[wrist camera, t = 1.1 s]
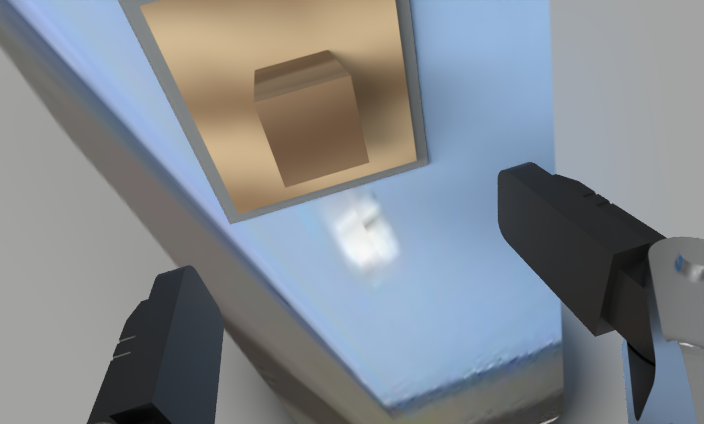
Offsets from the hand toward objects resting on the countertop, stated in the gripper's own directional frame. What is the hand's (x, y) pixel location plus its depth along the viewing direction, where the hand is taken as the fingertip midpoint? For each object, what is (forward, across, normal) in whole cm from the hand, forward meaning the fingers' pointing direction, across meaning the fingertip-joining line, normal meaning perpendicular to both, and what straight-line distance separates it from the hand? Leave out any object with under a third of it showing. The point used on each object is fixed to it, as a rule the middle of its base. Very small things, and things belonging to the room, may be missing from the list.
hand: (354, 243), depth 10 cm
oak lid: (+15, 0, 0) cm, 15 cm away
